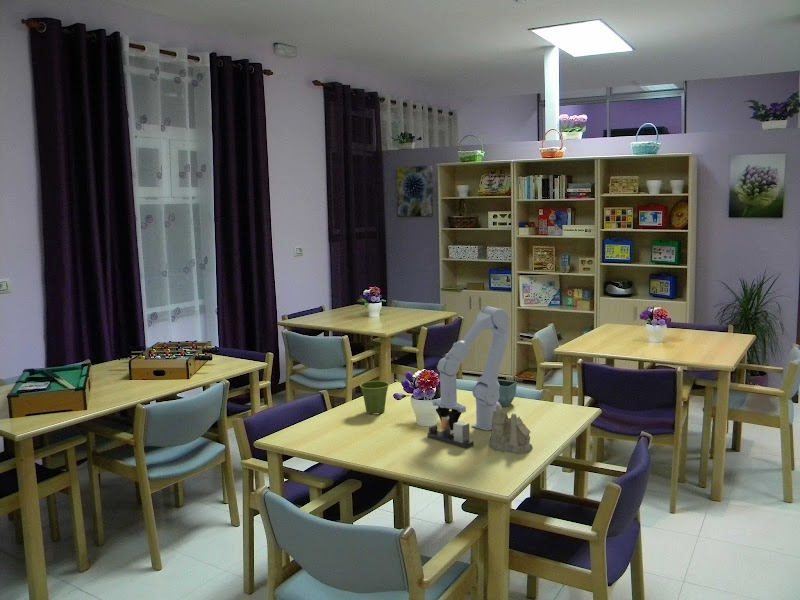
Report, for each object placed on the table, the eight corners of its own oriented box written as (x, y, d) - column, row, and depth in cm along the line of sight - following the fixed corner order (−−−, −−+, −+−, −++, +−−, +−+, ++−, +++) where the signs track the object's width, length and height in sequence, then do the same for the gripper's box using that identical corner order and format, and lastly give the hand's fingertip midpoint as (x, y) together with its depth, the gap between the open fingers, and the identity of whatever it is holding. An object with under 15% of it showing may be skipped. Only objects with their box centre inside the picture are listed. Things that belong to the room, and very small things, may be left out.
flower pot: (517, 403, 293) (517, 381, 291) (508, 408, 285) (508, 386, 284) (497, 400, 297) (497, 379, 296) (488, 405, 290) (488, 384, 289)
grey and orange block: (456, 432, 257) (456, 416, 256) (448, 435, 254) (447, 418, 253) (449, 430, 259) (449, 414, 259) (441, 433, 256) (440, 417, 256)
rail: (427, 436, 253) (427, 416, 252) (435, 434, 256) (435, 413, 255) (465, 448, 240) (465, 426, 239) (473, 445, 242) (473, 424, 241)
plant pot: (356, 410, 288) (355, 383, 287) (382, 406, 293) (382, 379, 292) (367, 417, 278) (366, 389, 276) (394, 413, 283) (394, 385, 281)
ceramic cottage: (521, 456, 231) (521, 410, 230) (479, 448, 242) (478, 404, 241) (545, 446, 243) (545, 402, 242) (504, 438, 253) (503, 396, 253)
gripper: (426, 390, 257) (427, 426, 259) (455, 397, 247) (456, 435, 249) (439, 386, 262) (440, 422, 264) (469, 393, 251) (470, 430, 253)
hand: (449, 428), depth 257 cm, fingers closed on grey and orange block, 3 cm apart
